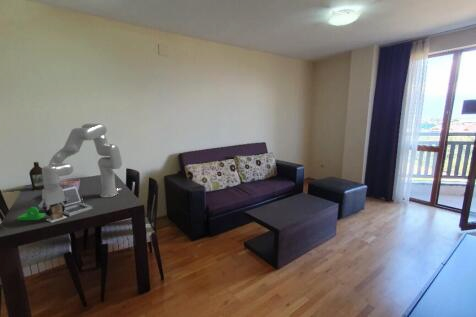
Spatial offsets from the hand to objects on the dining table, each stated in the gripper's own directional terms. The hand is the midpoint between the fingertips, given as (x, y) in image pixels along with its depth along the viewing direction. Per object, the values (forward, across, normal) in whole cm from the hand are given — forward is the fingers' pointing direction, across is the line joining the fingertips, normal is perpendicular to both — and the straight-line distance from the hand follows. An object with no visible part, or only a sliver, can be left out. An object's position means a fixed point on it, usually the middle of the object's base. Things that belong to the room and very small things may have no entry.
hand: (55, 213), depth 140 cm
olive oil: (+4, -22, -86) cm, 88 cm away
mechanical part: (+4, +7, -16) cm, 18 cm away
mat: (+4, 0, 0) cm, 4 cm away
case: (+4, -13, -4) cm, 14 cm away
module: (+3, 0, 0) cm, 3 cm away
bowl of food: (+4, -26, -46) cm, 53 cm away
